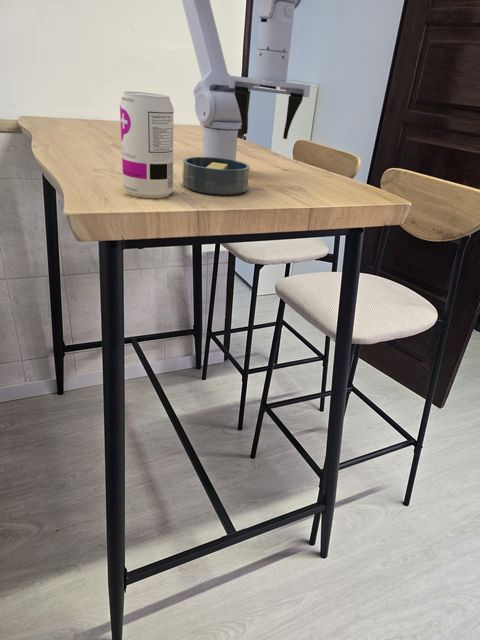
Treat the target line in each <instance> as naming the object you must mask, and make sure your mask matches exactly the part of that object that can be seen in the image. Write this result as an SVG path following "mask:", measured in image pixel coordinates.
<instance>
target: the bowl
mask: <svg viewBox="0 0 480 640" xmlns="http://www.w3.org/2000/svg"><path fill="white" fill-rule="evenodd" d="M212 162H215V163H223V164H228V168H227V170H225V169H213V168H206V167H207V166H208V165H210V164H211V163H212ZM250 171H251V166H250V165H249V164H248V163H247V162H246V163H245V162H243V161H239V160H236V161H235V160H230V159H224V158H215V157H202V156H192V157H191V156H190V157H185V158H183V159H182V180H181V181H182V185H183V186H184V187H186V188H187V189H189V190H191V191H192V192H193V191H194V192H196V193H201V194H206V195H213V196H236V195H239V194H243V193H245V192H247V191H248V189H249V184H250V173H251V172H250Z"/></svg>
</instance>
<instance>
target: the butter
mask: <svg viewBox="0 0 480 640" xmlns="http://www.w3.org/2000/svg"><path fill="white" fill-rule="evenodd" d="M206 168H213V169H225V170H227V168H228V164H223V163H215V162H212V163H211V164H210V165H208V166H207V167H206Z"/></svg>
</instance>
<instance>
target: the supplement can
mask: <svg viewBox="0 0 480 640" xmlns="http://www.w3.org/2000/svg"><path fill="white" fill-rule="evenodd" d="M170 98H171V97H170V96H169V95H166V94H160V93H153V92H152V93H151V92H145V91H144V92H143V91H130V90H129V91H128V90H127V91H123V95H122V97H121V99H120V102H119V115H120V116H119V117H120V118H119V119H120V120H119V121H120V139H121V140H120V141H121V143H120V144H121V158H122V159H121V164H122V165H121V166H122V167H121V168H122V187H123V189H124V190H125V191H126V193H127V194H128V195H130V196H133V197H136V198H137V197H138V198H143V199H162V198H163V199H164V198H167V197H168V196H169V197H170V194H171V193H173V192H174V106H173V103H172V102H171V99H170Z"/></svg>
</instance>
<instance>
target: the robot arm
mask: <svg viewBox="0 0 480 640" xmlns="http://www.w3.org/2000/svg"><path fill="white" fill-rule="evenodd" d="M181 2H182V6H183V10H184V11H183V12H184V14H185V17H186V22H187V26H188V31H189V34H190V38H191V41H192V46H193V50H194V53H195V57H196V63H197V65H198V69H199V73H200V77H201V79H199V81H198V82H197V83H196V85H195V87H194V89H193V95H194V111H195V115H196V117H197V120H198V121H199V124H200V126H202V152H201V153H202V154H201V157H215V158H224V159H230V160H235V161H237V150H238V135H239V130H241V129H242V135H248V132H249V109H250V100H251V91H254V92H262V93H263V92H264V93H271V94H280V95H289V96H288V99H287V100H288V101H287V111H286V119H285V124H284V129H283V136H282V138H283V140H288V136H289V131H290V128H291V125H292V122H293V119H294V118H295V115H296V114H297V111H298V109H299V107H300V106H301V104H302V102H303V99H304V98H310V91H311V85H310V84H304V83H296V82H289V81H288V82H287V79H288V78H287V77H288V67H289V60H290V52H291V44H292V33H293V26H294V16H295V9H297V8H298V7H299V5H300V4H301V2H302V0H256V3H257V4H256V5H257V9H256V13H257V17H258V18H259V19H258V20H259V22H258V33H257V45H256V56H255V57H256V58H255V69H254V70H255V71H254V77H248V76H247V77H245V76H236V75H231V74H230V73H229V72H228V69H227V64H226V61H225V57H224V56H225V55H224V53H223V48H222V44H221V41H220V35H219V32H218V29H217V24H216V20H215V16H214V12H213V8H212V4H211V0H181ZM261 86H267V87H276V88H279V89H271V88H263V87H261Z"/></svg>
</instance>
